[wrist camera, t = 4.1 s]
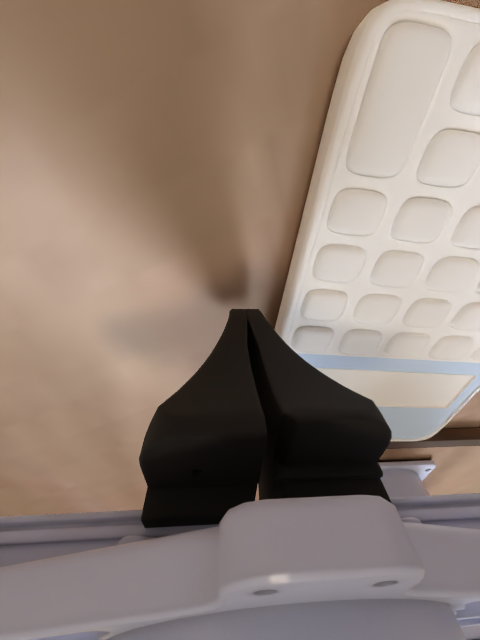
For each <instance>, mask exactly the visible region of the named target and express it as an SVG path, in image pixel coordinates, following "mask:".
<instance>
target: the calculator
mask: <svg viewBox="0 0 480 640" xmlns="http://www.w3.org/2000/svg"><path fill="white" fill-rule="evenodd" d="M275 331H276V333H277V334H278V335H279V336H280V337H281V338H282V339H283V341H284V342H285V343H286V344H287V345H288V346H289V347H290V348H291V349H292V350H293V351H295V352H296V353H297V354H298V355H299V356H300V357H302V358H303V359H304V360H305V361H306V362H308V363H309V364H310V365H312V366H313V367H315V368H316V369H317V370H319V371H320V372H322V373H323V374H325V375H326V376H328V377H329V378H331V379H333V380H334V381H336V382H338V383H340V384H341V385H343V386H345V387H347V388H348V389H350V390H352V391H354V392H356V393H358V394H360V395H362V396H364V397H367V398H369V399H371V400H373V402H374V403H375V405H376V406H377V408H378V409H379V410H380V412H381V414H382V415H383V417H384V419H385V421H386V422H387V424H388V426H389V428H390V429H391V431H392V438H391V440H390V441H422V440H426V439H429V438H430V437H432V436H434V435H435V434H436V433H438V432H439V431H440V430H441V429H442V428H443V427H444V426H445V425H446V424H447V423H448V422H449V421H450V420H451V419H452V418H453V417H454V416H455V415H456V414H457V413H458V412H459V411H460V410H461V409H462V408H463V407H464V406H465V405H466V404H467V403H468V402H469V401H470V400H471V399H472V397H473V396H474V395H475V394H476V393H477V392H478V391H479V390H480V9H478V8H474V7H469V6H465V5H460V4H456V3H451V2H447V1H442V0H389V1H387V2H385V3H383V4H381V5H379V6H377V7H375V8H373V9H372V10H371V11H370V12H369V13H368V14H367V15H366V16H365V18H364V19H363V20H362V22H361V23H360V24H359V25H358V27H357V28H356V29H355V31H354V32H353V34H352V37H351V39H350V42H349V44H348V47H347V49H346V51H345V54H344V56H343V59H342V62H341V66H340V69H339V73H338V76H337V80H336V83H335V87H334V90H333V94H332V98H331V102H330V106H329V110H328V114H327V118H326V122H325V126H324V130H323V134H322V138H321V142H320V146H319V150H318V154H317V159H316V163H315V167H314V171H313V175H312V179H311V183H310V187H309V191H308V195H307V199H306V203H305V208H304V212H303V216H302V220H301V224H300V228H299V232H298V236H297V240H296V244H295V248H294V252H293V257H292V261H291V265H290V269H289V273H288V277H287V281H286V285H285V289H284V293H283V297H282V301H281V306H280V310H279V314H278V318H277V322H276V326H275Z"/></svg>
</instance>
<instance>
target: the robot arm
mask: <svg viewBox="0 0 480 640" xmlns="http://www.w3.org/2000/svg"><path fill="white" fill-rule="evenodd" d="M391 438H392V431H391V429H390V428H389V426H388V424H387V422H386V421H385V419H384V417H383V415H382V414H381V412H380V410H379V409H378V408H377V406H376V405H375V403H374V402H373V400H371V399H369V398H367V397H364V396H362V395H360V394H358V393H356V392H354V391H352V390H350V389H348V388H347V387H345V386H343V385H341V384H340V383H338V382H336V381H334V380H333V379H331V378H329V377H328V376H326V375H325V374H323V373H322V372H320V371H319V370H317V369H316V368H315V367H313V366H312V365H310V364H309V363H308V362H306V361H305V360H304V359H303V358H302V357H300V356H299V355H298V354H297V353H296V352H295V351H293V350H292V349H291V348H290V347H289V346H288V345H287V344H286V343H285V342H284V341H283V339H282V338H281V337H280V336H279V335H278V334H277V333H276V331H275V330H274V329H273V328H272V327H271V325H270V324H269V323H268V321H267V320H266V319H265V317H264V316H263V315H262V313H261V312H260V311H259V309H232V310H230V312H229V318H228V321H227V324H226V327H225V329H224V331H223V333H222V336H221V337H220V339H219V341H218V343H217V345H216V346H215V348H214V350H213V351H212V353H211V354H210V356H209V357H208V358H207V360H206V361H205V362H204V364H203V365H202V366H201V367H200V368H199V370H198V371H197V372H196V373H195V374H194V375H193V376H192V377H191V378H190V379H189V380H188V381H187V382H186V383H185V384H184V385H183V386H182V387H181V388H180V389H179V390H178V391H177V392H176V393H175V394H173V395H172V396H171V397H170V398H169V399H167V400H166V401H165V402H164V403H162V404H161V405H160V406H159V407H158V409H157V410H156V412H155V414H154V416H153V418H152V421H151V423H150V425H149V427H148V430H147V433H146V435H145V438H144V442H143V446H142V450H141V453H140V457H139V461H140V467H141V469H142V472H143V475H144V477H145V480H146V483H147V486H148V488H147V493H146V497H145V502H144V507H143V510H128V511H107V512H87V513H67V514H46V515H26V516H6V517H0V640H480V493H473V494H452V495H432V496H430V494H429V493H428V491H427V489H426V488H425V486H424V484H423V483H422V481H423V480H424V478H425V477H426V476H427V475H428V474H429V473H430V472H431V471H432V470H433V469H434V468H435V467H436V464H435V463H434V461H432V460H426V461H400V462H378V460H379V459H380V457H381V456H382V454H383V453H384V451H385V450H386V448H387V447H388V445H389V443H390V440H391ZM257 484H258V485H259V500H258V501H255V496H256V490H257Z"/></svg>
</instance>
